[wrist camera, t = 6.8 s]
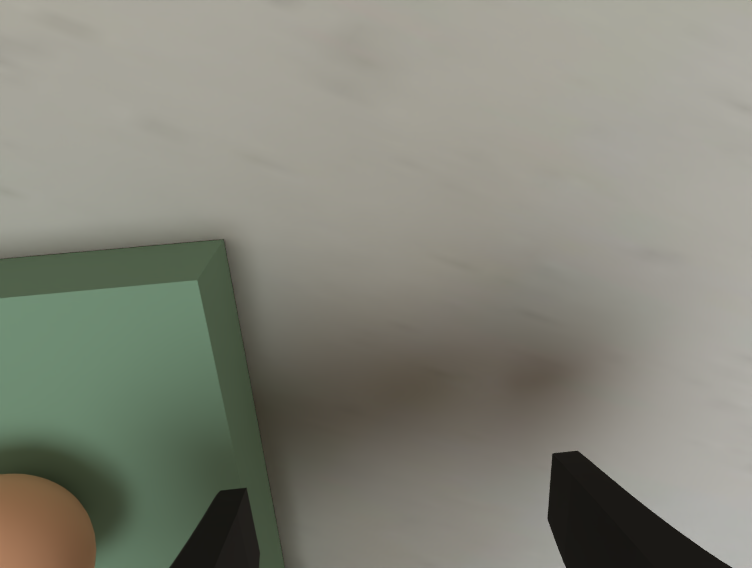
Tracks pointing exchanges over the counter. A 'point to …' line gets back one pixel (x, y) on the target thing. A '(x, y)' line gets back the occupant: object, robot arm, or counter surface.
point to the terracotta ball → (43, 525)
